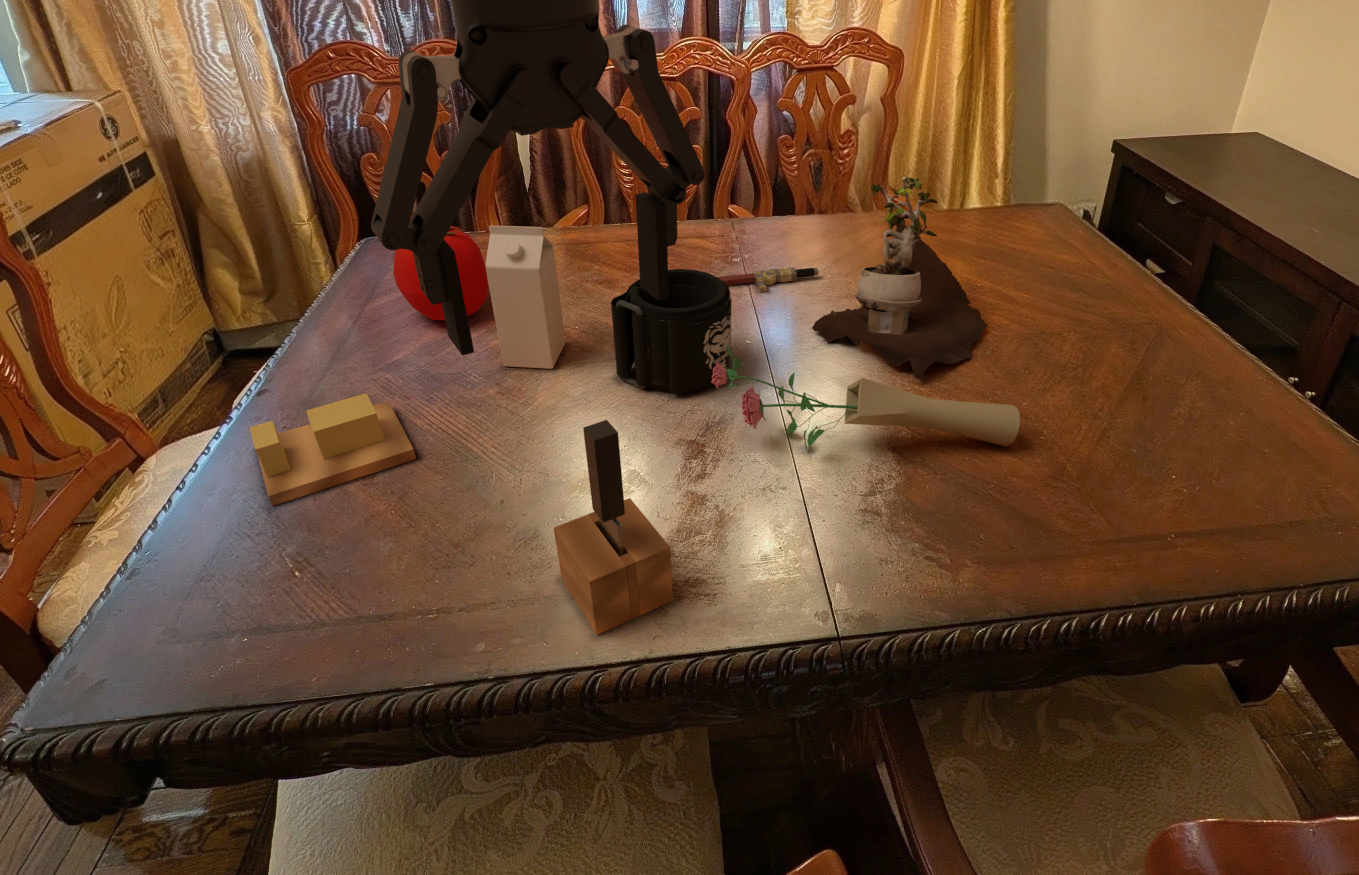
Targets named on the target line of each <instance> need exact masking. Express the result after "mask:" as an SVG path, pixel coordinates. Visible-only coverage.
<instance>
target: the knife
mask: <svg viewBox="0 0 1359 875" xmlns="http://www.w3.org/2000/svg"><path fill="white" fill-rule="evenodd" d="M819 273H820V272H819V269H818V267H806V268H797V269H796V268H795V267H784V268H774V269H765V270H764V269H761V270H755V271H752V273H751V272H750V273H742V274H731V275H723V276H717V277H718V278H719V279H721V280H722V281H723V282H725V283H726V284H727V285H728V286H731V285H741V284H743V285H744V284H752V283H754V284H755V285H756V288H758V291H759V293H765V292H767V291H768V287H767V286H771V285H774V284H776V283H785V282H792V281H797V280H798V279H799V278H810V277H815V276H818V275H819Z"/></svg>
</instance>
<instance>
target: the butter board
mask: <svg viewBox="0 0 1359 875" xmlns="http://www.w3.org/2000/svg"><path fill="white" fill-rule="evenodd" d="M372 405H373V407H374V409H375V411H376V413H377V417H378V420H379V423H380V426H381V430H382V433H383V436H384V440H385V441H382V442H378V443H375V444H372V445H369V446H366V447H362V448H359V449H356V450H353V451H350V452H346V453H343V454H340V455H337V456H334V457H330V458H327V459H323V457H322V454H321V451H320V448H319V446H318V443H317V440H316V437H315V435H314V432H313V429H312V426H311V424H310V423H308V424H306V425H302V426H299V427H296V428H295V427H294V428H292V429H289V430H285V431H282V432H278V435H279V437H280V440H281V442H282V445H283V447H284V450H285V453H286V457H287V460H288V463H289V467H290V470H289V471H286V472H283V473H280V474H276V475H273V476H270V477H267V476H266V473H265V471H264V469H263V466H262V464H261V462H260V459H259V457H258V456H257V458H258V461H259V466H260V470H261V474H262V478H263V481H264V485H265V489H266V493H267V497H268V500H269V502H270V504H271V506H272V507H274V506H278V505H280V504H283V503H286V502H289V501H293V500H295V499H299V498H301V497H304V496H307V495H312V494H313V493H316V492H319V491H320V492H321V491H323V490H326V489H329V488H333V487H336V486H338V485H341V484H344V483H348V482H350V481H354V480H357V479H361V478H363V477H365V476H366V477H367V476H369V475H371V474H374V473H377V472H381V471H385V470H388V469H390V468H393V467H396V466H400V465H402V464H406V463H408V462H411V461H414V460H417V456H416V453H415V449H414V447H413V444H412V443H411V441H410V438H408V436H407V434H406V432H405V429H404V428H403V426H402V424H401V422H400V420H399V419H398V416H397V414H396V412H395V410H394V408H393V406H392V405H391V403H390V401H389V400H386V401H384V402H380V403H377V404H372Z"/></svg>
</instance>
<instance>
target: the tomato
mask: <svg viewBox="0 0 1359 875" xmlns="http://www.w3.org/2000/svg"><path fill="white" fill-rule="evenodd" d="M444 240H445V241H446V242H447V243H448V244H449V246H450V247H451V248H452V249H453V250H454V251H455V255H456V260H457V266H458V271H459V276H460V281H461V286H462V291H463V297H464V302H465V307H466V312H467V317H469V316H470V317H471V316H472V315H475V314H477V312H478V311H479V310H480V309H481V307H482V306H483V305H484V303H485V301H486V299H487V297H488V293H489V283H488V278H487V272H486V266H485V265H486V262H485V261H484V256H483V255H482V251H481V249H480V248H481V247H479V246H478V244H477V243H476V242H475V241H474V239H473V238H472V236H470V234H468V233H465V232H464V229H461V228H459V226H454V225H451V227H450V229H449V230H448V232H447V234H446V236H445V238H444ZM392 272H393V276H394V280H395V285H396V287H397V288H398V290H399V292H400V293H401V295H402V296H403V298H404V299H405V300H406V301H407V302H408V303H409V305H410V306H411V307H412V308H413V309H414V310H416V311H418V313H420V314H421V315H423V316H424V317H426V318H428V319H430V320H433V321H445V317H444V312H443V307H442V303H439V304H434V305H432V304H431V302H430V301H429V300H428V298H427V297H426V295H425V294H424V293H423V291H422V290H421V288H420V284H419V279H418V275H417V271H416V266H415V262H414V257H413V253H412V251H411V250H407V249H398V250H394V260H393V271H392Z"/></svg>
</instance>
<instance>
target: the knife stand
mask: <svg viewBox="0 0 1359 875" xmlns="http://www.w3.org/2000/svg"><path fill="white" fill-rule="evenodd" d="M624 507H625V514H624V515H622V516H619V517H617V518H616V519H617V520H618V521H619V523H620V524H621V525H622V533H623V544H624V555H622V556H620V557H619V556H618V554H617V553H616V552H615V550H614V549H613V548H612V546H611V545H610V544H609V542H608V541H607V539H606V538H605V537H604V535H603V534H602V533H601V531H600V526H599V517H598V515H597V514H596V513H595V511H593V512H590V513H588V514H585V515H583V516H582V515H581V516H580V517H576V518H574V519H572V520H570V521H567V522H563V523H562V524H559V525H556V526H554V527H553V534H554V539H555V545H556V551H557V557H558V566H559V570H560V576H561V581H562V583H563V584H564V586H565V588H566V589H567V591H568V592H569V594H570V595H571V597H572V599H573V601H574V602H575V603H576V605H577V607H578V608H579V609H580V611H581V613H582V614H583V616H584V617H585V619H586V620H587V623H588V624H589V625H590V627H591V628H592V630H593V632H594V633H595V635H596V636H598V635H600V634H602V633H604V632H607V631H609V630H611V629H614V628H615V627H618V626H620V625H622V624H625V623H626V622H629V621H631V620H634V619H636V618H638V617H640V616H642V615H645V614H647V613H650V612H652V611H653V610H656V609H657V608H660V607H662V606H664V605H666V604H669V603H671V602H673V601H674V594H673V593H674V592H673V571H672V570H673V569H672V568H673V567H672V550H671V549H672V548H671V546H670V545H669V543H668V542H667V541H666V540H665V539H664V537H663V536H662V535H661V533H659V531H658V530H657V529H656V527H654V525H653V523H651V522H650V520H649V519H648V518H647V517H646V516H645V514H644V513H643V512H642V511H641V510H640V508H639V507H638V506H637V504H636V503H635V502H634V501H633V499H632V498H630V497H629V498H626V499H624Z"/></svg>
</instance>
